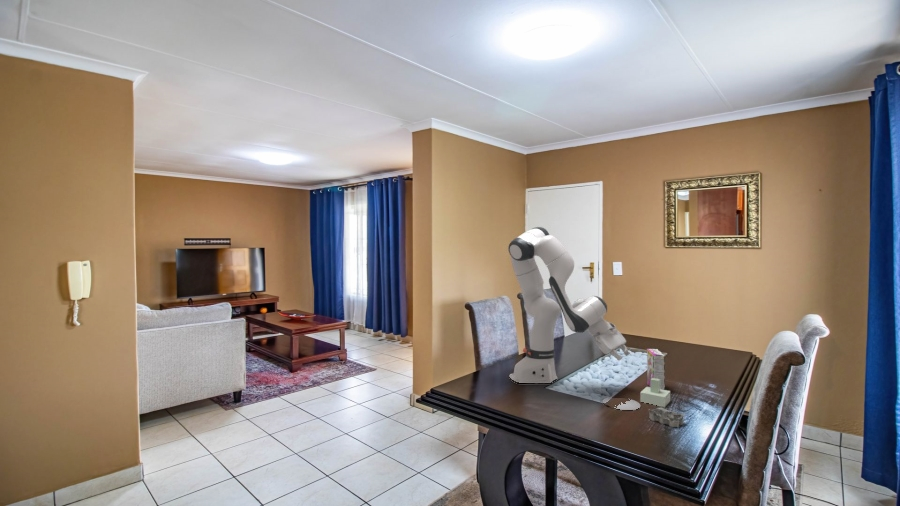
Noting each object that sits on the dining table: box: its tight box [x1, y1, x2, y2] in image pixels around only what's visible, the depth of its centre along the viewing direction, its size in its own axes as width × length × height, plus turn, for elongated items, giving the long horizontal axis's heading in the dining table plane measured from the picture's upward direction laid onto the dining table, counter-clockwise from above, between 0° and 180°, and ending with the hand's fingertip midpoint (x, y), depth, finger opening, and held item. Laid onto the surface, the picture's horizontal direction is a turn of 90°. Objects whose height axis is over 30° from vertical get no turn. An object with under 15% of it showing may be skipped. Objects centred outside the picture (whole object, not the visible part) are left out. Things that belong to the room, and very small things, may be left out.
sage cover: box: [639, 378, 671, 408], centre depth 176 cm, size 9×9×9 cm
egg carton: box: [647, 407, 685, 428], centre depth 156 cm, size 11×8×4 cm
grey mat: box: [602, 396, 641, 411], centre depth 173 cm, size 14×14×1 cm
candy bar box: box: [646, 348, 666, 390], centre depth 191 cm, size 11×5×16 cm, turn 168°
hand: (624, 357), depth 183 cm, fingers open, 8 cm apart
